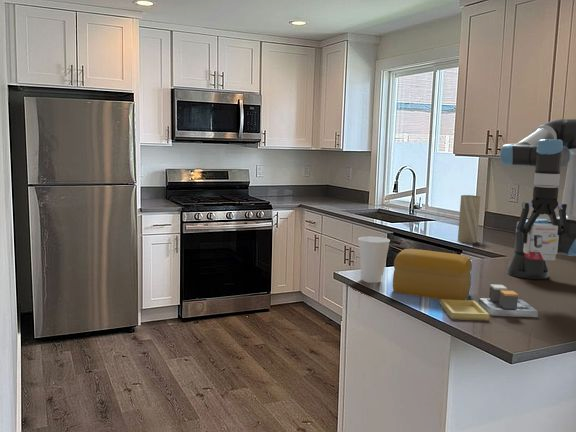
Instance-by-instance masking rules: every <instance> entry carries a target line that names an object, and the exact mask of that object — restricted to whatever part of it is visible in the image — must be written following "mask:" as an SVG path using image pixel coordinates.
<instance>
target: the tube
mask: <svg viewBox="0 0 576 432" xmlns="http://www.w3.org/2000/svg"><path fill="white" fill-rule="evenodd" d="M480 206H481V196H480V195H473V194H472V195H471V194H463V195H462V194H461V195H460V205H459V217H458V231H457V242H458V243H459V242H460V243H465V244H477V242H478V233H479V232H478V231H479V220H480V219H479V217H480Z"/></svg>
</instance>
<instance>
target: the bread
mask: <svg viewBox="0 0 576 432" xmlns="http://www.w3.org/2000/svg"><path fill="white" fill-rule="evenodd" d="M393 268H394V270H393V276H392V291H394V292H393V293H397V294H403V295H410V296H415V297H416V296H417V297H421V298H428V299H434V300H439V301H440V300H441V299H445V300H467V298H469V296H470V293H471V292H470V291H471V285H472V284H471V283H472V274H471V271H472V268H473V262H472V260H471V258H470V257H468V256H466V255H465V254H458V253H457V254H456V253H451V252H450V253H449V252H442V251H433V250H425V249H417V248H404V249H402V250H401V251H400V252H398V254H397V255H396V257H395V259H394V261H393Z"/></svg>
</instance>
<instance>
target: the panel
mask: <svg viewBox="0 0 576 432" xmlns="http://www.w3.org/2000/svg"><path fill="white" fill-rule="evenodd" d="M478 304H479V305H480V306H481V307H482V308H483V309H484V310H485V311H486V312H488V313H489V316H490V317H491V316H493V317H495V316H496V317H518V318H519V317H520V318H523V317H524V318H538V315H539V310H537V309H536V308H535V307H533V306H532V305H530V304H529V303H528V302H526V301H525V300H523V299H518V301H517V309H507V308H503V307H501V306H500V305H499V302H493V301H492V300H491V299H490V298H489V297H488V298H486V297H485V298H484V297H481V298H478Z"/></svg>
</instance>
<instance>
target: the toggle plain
mask: <svg viewBox="0 0 576 432" xmlns="http://www.w3.org/2000/svg"><path fill="white" fill-rule="evenodd" d="M500 290H504V291H508V288H507V287H506V286H504V284H493V283H492V284H489V295H488V298H489V299H491V300H492V301H493V302H499V298H500Z"/></svg>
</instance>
